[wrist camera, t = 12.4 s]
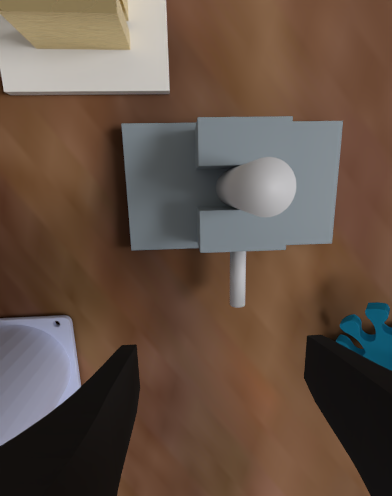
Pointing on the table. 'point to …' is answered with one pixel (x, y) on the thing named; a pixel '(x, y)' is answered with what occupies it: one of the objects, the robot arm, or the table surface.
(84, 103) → the table surface
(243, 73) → the table surface
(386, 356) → the gear
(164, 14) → the mat
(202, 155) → the vise
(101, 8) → the sleeve
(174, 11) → the table surface
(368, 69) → the table surface
